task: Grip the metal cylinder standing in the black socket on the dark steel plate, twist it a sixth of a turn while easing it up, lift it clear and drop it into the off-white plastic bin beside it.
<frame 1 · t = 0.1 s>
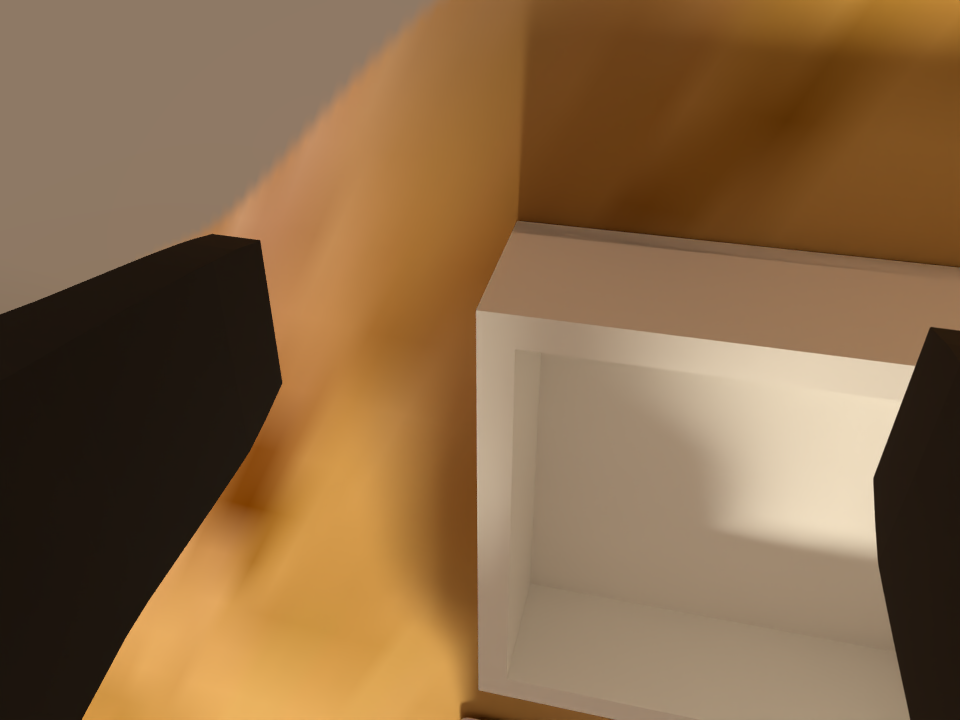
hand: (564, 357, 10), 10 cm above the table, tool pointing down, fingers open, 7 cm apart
bin: (748, 464, 22), on the table
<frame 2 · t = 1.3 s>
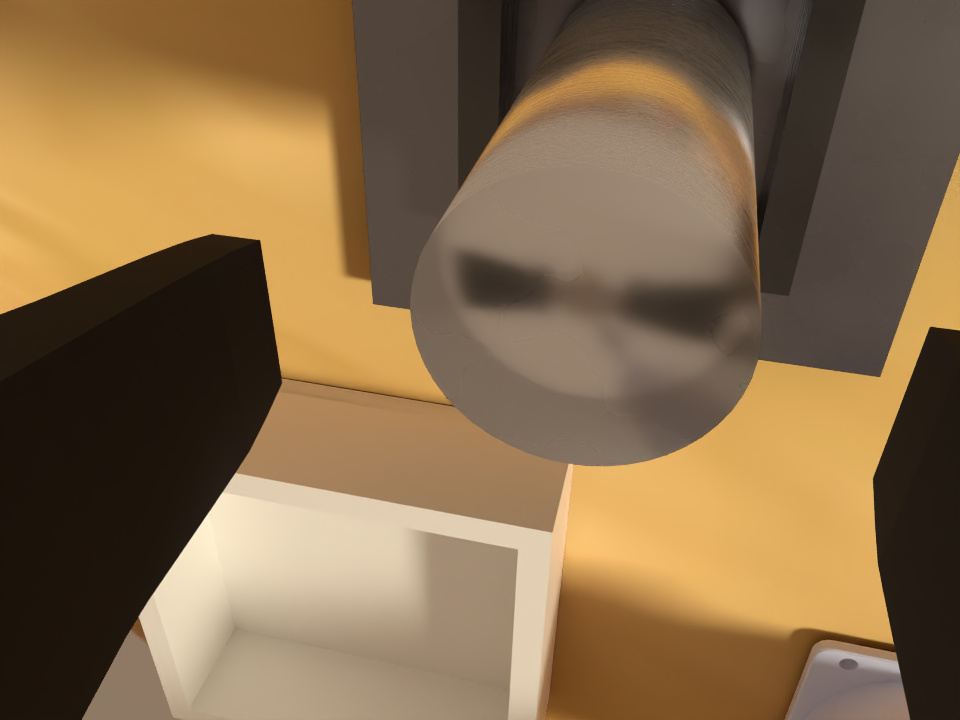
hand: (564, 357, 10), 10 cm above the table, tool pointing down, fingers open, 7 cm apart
metal cylinder: (644, 86, 17), point 1 cm above the table, touching socket plate
socket plate: (648, 71, 18), on the table
bin: (372, 542, 28), on the table
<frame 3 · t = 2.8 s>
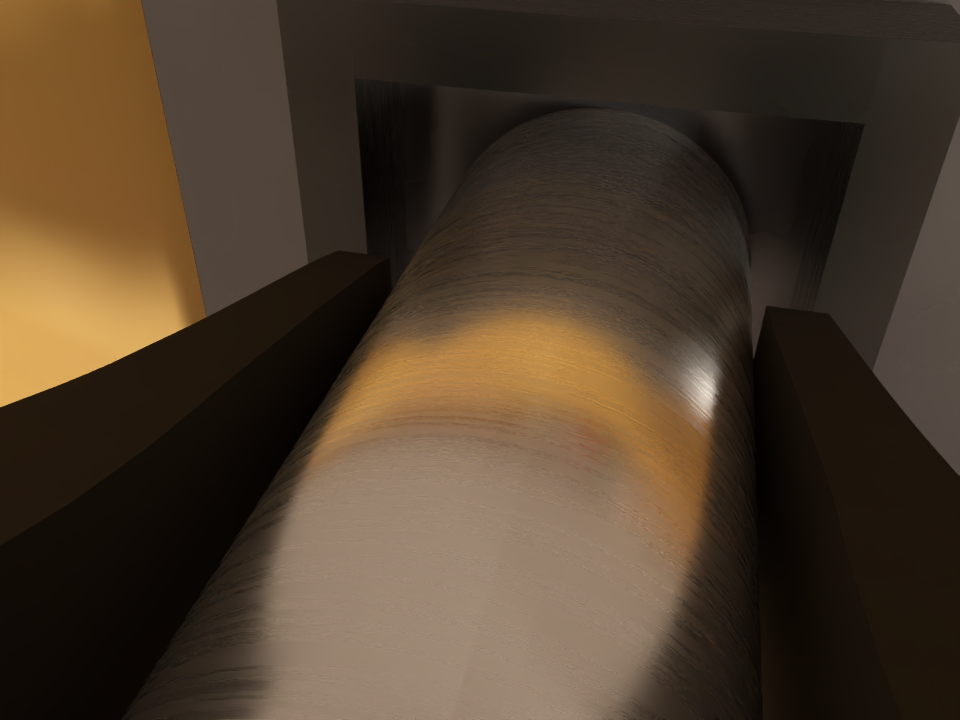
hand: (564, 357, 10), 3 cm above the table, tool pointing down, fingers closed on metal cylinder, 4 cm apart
metal cylinder: (592, 256, 11), point 1 cm above the table, touching gripper, socket plate
socket plate: (602, 223, 12), on the table
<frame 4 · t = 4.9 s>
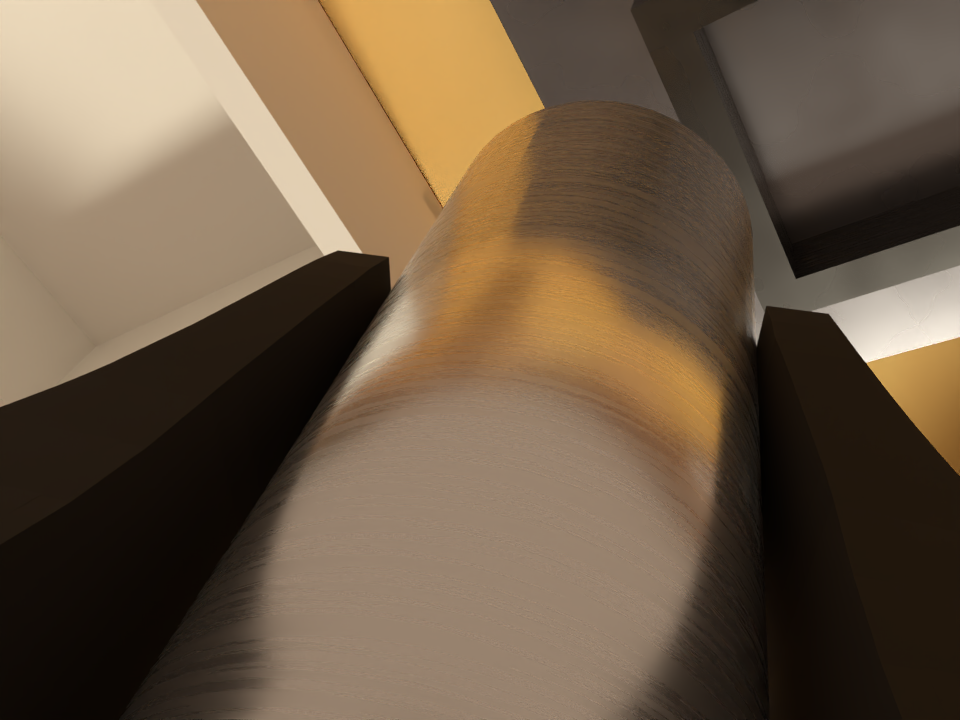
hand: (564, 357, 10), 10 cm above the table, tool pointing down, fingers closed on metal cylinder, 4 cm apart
metal cylinder: (595, 248, 12), point 8 cm above the table, touching gripper
socket plate: (880, 60, 17), on the table
bin: (103, 90, 21), on the table
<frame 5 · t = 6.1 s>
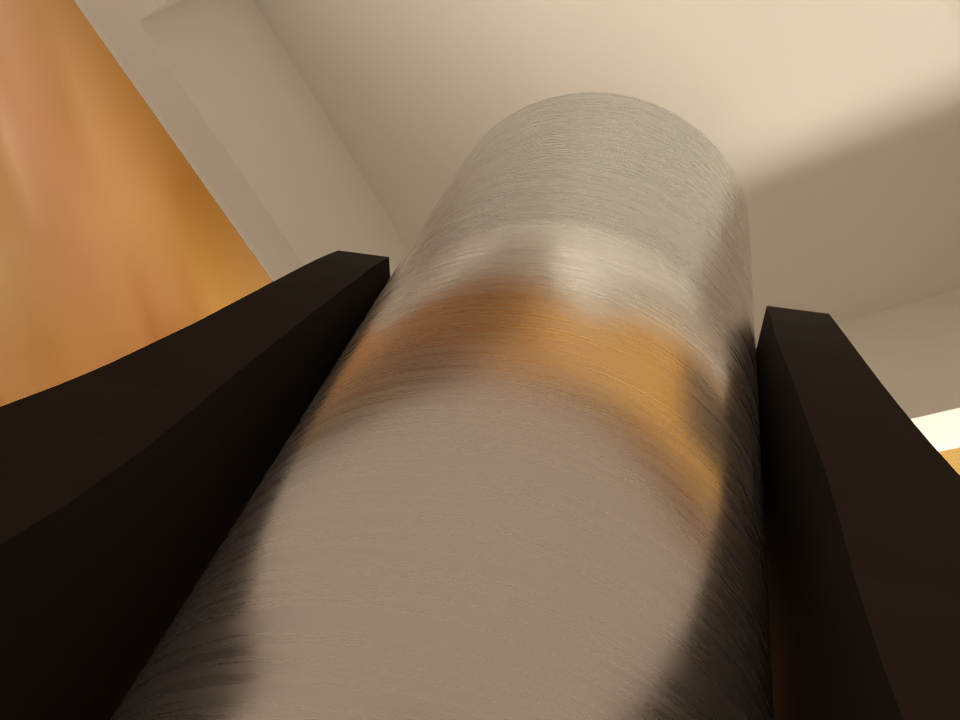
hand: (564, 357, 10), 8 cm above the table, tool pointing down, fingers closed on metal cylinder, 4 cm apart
metal cylinder: (592, 242, 11), point 6 cm above the table, touching gripper
bin: (635, 107, 16), on the table
when the fingers open (5 cm above the table, at t = 7.0 s): metal cylinder drops 2 cm, resting on bin.
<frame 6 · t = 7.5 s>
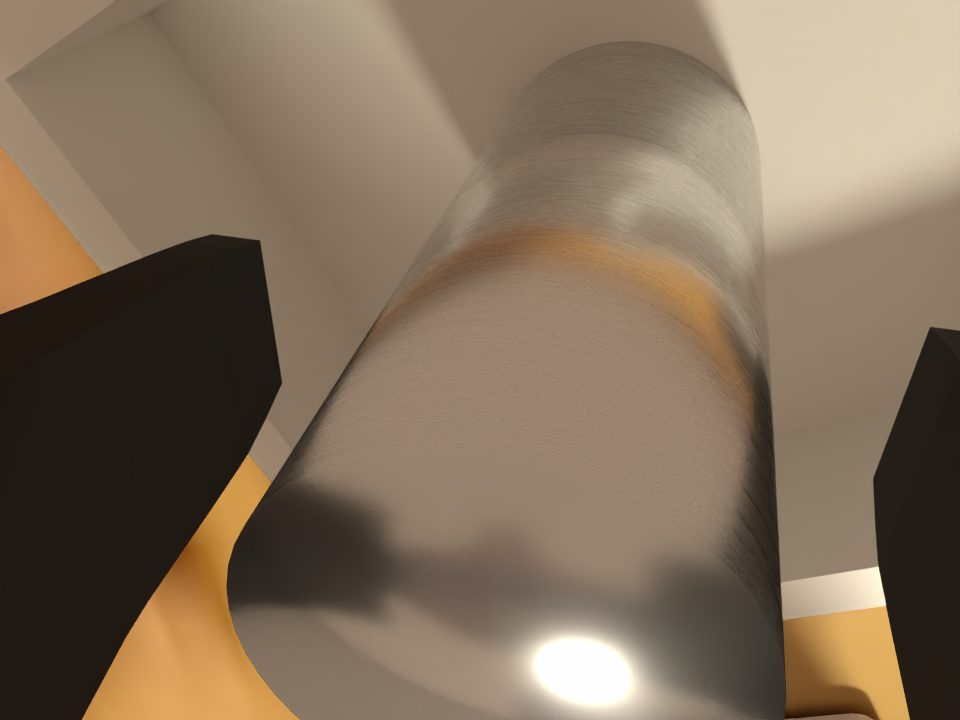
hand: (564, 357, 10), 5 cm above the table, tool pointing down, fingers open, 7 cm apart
metal cylinder: (623, 175, 13), point 1 cm above the table, touching bin
bin: (617, 168, 14), on the table
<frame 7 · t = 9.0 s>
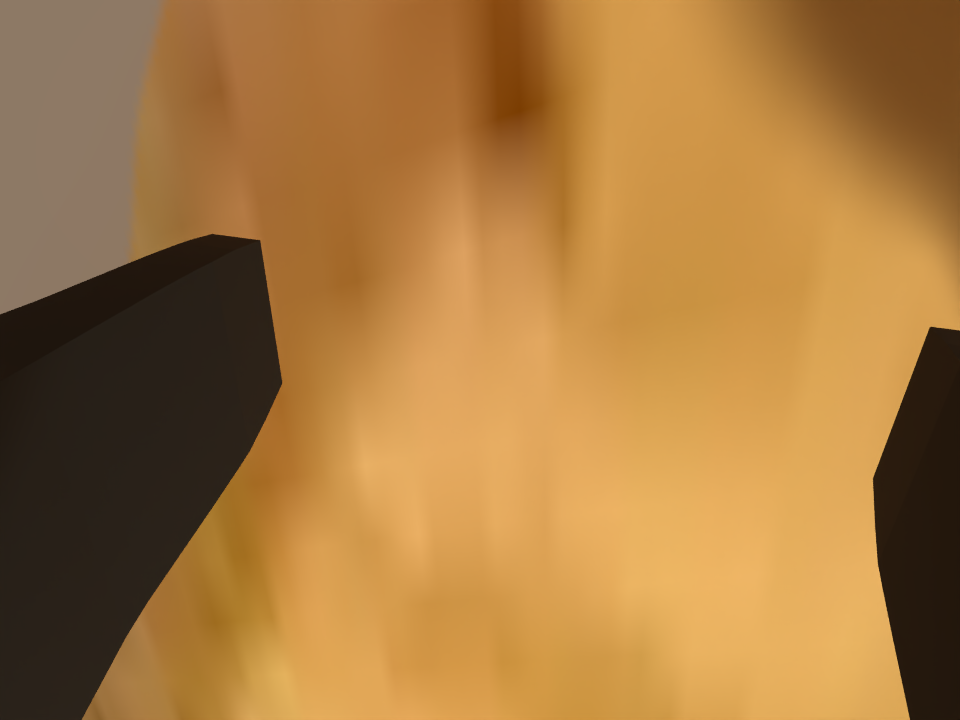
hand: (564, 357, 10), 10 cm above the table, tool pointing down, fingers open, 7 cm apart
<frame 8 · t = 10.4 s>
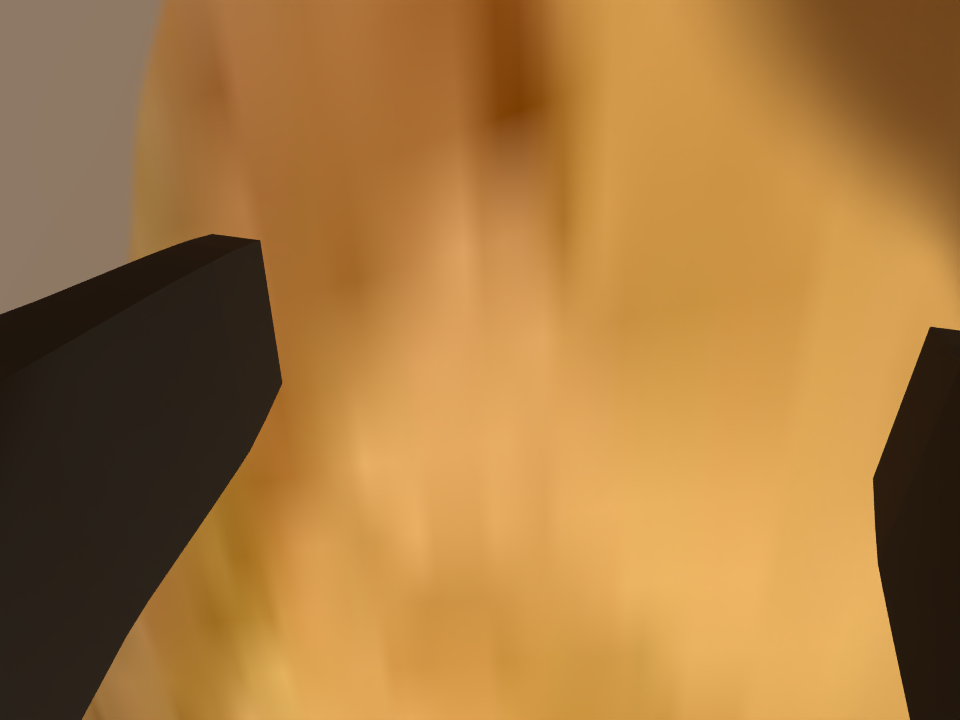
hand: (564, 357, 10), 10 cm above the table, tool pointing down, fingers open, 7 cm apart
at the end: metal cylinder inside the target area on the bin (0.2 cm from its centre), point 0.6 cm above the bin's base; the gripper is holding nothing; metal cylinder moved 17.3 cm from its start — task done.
